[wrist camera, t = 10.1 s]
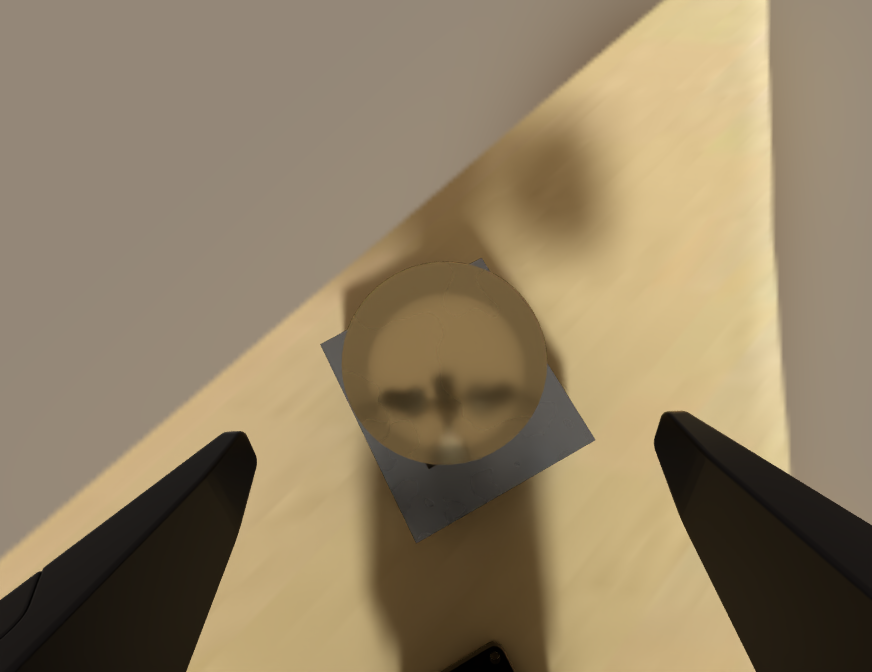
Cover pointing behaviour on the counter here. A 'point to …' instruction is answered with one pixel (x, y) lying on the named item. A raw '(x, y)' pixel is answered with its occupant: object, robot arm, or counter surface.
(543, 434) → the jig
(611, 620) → the counter surface
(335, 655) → the counter surface
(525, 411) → the flanged metal cylinder
